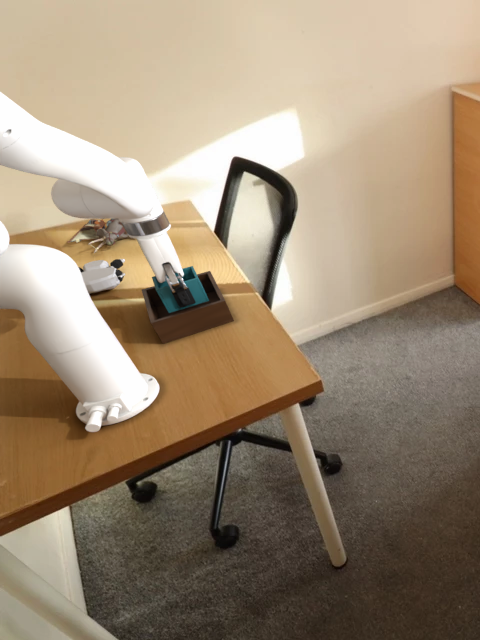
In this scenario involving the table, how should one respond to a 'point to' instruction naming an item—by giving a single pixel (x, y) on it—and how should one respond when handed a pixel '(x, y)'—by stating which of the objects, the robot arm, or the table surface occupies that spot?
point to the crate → (188, 312)
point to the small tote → (190, 282)
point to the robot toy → (102, 275)
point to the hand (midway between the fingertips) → (184, 296)
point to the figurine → (101, 232)
